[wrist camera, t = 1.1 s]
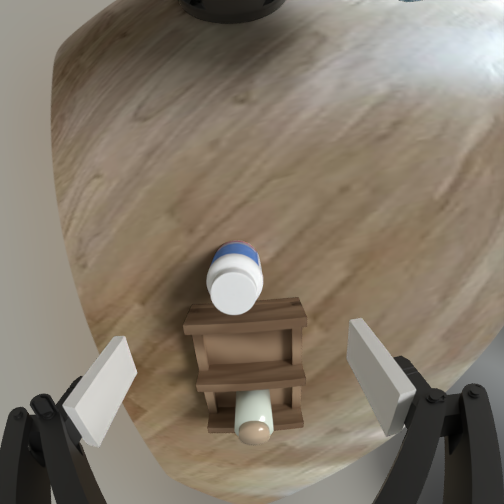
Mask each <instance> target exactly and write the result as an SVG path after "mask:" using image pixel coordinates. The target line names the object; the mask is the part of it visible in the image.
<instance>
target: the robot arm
mask: <svg viewBox="0 0 504 504" xmlns="http://www.w3.org/2000/svg"><path fill="white" fill-rule="evenodd" d="M178 1H179V3H180V5H181V7H182V8H183V9H184V10H185V11H186V12H187V13H189V14H190V15H192V16H194V17H196V18H199V19H201V20H205V21H209V22H215V23H241V22H247V21H252V20H255V19H259V18H262V17H264V16H266V15H269V14H270V13H272V12H274V11H275V10H277V9H278V8H279V7H280V6H281V5H282V4H283V3H284V2H285V0H178ZM399 1H404V2H414V1H421V0H399ZM347 361H348V363H349V364H350V366H351V368H352V370H353V372H354V374H355V376H356V378H357V380H358V382H359V384H360V386H361V388H362V390H363V391H364V393H365V395H366V397H367V399H368V401H369V403H370V405H371V407H372V409H373V411H374V413H375V415H376V417H377V419H378V421H379V423H380V425H381V427H382V429H383V431H384V433H385V435H386V437H387V436H390V435H393V434H396V433H399V432H401V430H402V428H403V426H404V424H405V426H406V428H407V429H408V430H407V433H406V435H405V437H404V440H403V442H402V445H401V447H400V450H399V452H398V454H397V457H396V459H395V461H394V463H393V465H392V467H391V469H390V471H389V473H388V475H387V477H386V479H385V481H384V483H383V485H382V487H381V489H380V491H379V493H378V494H377V496H376V498H375V500H374V501H373V503H372V504H416V503H417V501H418V498H419V496H420V494H421V491H422V489H423V486H424V484H425V481H426V478H427V475H428V472H429V470H430V467H431V464H432V461H433V458H434V454H435V451H436V448H437V445H438V441H439V437H444V438H445V480H444V495H443V504H504V489H503V475H502V467H501V458H500V451H499V445H498V439H497V433H496V428H495V424H494V419H493V415H492V410H491V406H490V403H489V399H488V395H487V392H486V390H485V388H484V387H482V386H481V385H479V384H473V383H472V384H468V385H466V386H465V387H464V388H463V390H462V393H460V394H452V395H446V393H445V392H444V391H442V390H440V389H437V388H431V387H430V385H429V384H428V383H427V382H426V380H425V379H424V378H423V377H422V375H421V374H420V373H419V372H418V371H417V369H416V368H415V367H414V366H413V364H412V363H411V362H410V361H409V360H408V359H406V358H404V357H403V356H398V357H394V358H393V357H392V356H391V355H390V353H389V352H388V351H387V349H386V348H385V347H384V346H383V344H382V343H381V342H380V340H379V339H378V338H377V337H376V335H375V334H374V333H373V331H372V330H371V329H370V328H369V326H368V325H367V324H366V323H365V321H364V320H363V319H362V318H358V319H352V320H349V335H348V348H347ZM136 374H137V370H136V368H135V365H134V362H133V359H132V356H131V353H130V350H129V347H128V344H127V341H126V338H125V336H114V337H113V339H112V340H111V341H110V342H109V344H108V345H107V346H106V347H105V349H104V350H103V351H102V353H101V354H100V355H99V356H98V358H97V359H96V360H95V362H94V363H93V364H92V366H91V367H90V368H89V370H88V371H87V372H86V374H85V375H84V376H80V377H78V378H77V379H76V380H75V381H73V383H72V384H71V385H70V388H68V389H67V391H66V392H65V393H64V395H63V396H62V397H61V399H60V400H59V401H58V403H57V404H56V405H55V403H54V401H53V400H52V398H51V396H50V395H48V394H39V395H37V396H35V397H34V398H33V399H32V400H31V402H30V406H31V408H32V409H33V411H34V413H35V414H36V415H29V413H28V412H27V410H26V409H25V408H24V407H18V408H15V409H13V410H12V411H11V412H10V414H9V416H8V419H7V423H6V427H5V431H4V435H3V439H2V443H1V448H0V504H51V487H52V490H53V494H54V497H55V500H56V503H57V504H107V503H106V501H105V499H104V497H103V495H102V493H101V491H100V488H99V486H98V484H97V482H96V480H95V477H94V475H93V473H92V470H91V468H90V465H89V463H88V460H87V458H86V455H85V452H84V450H83V447H82V445H81V443H80V442H79V441H80V440H81V438H83V439H84V441H85V442H86V444H88V445H92V446H96V447H100V445H101V443H102V441H103V439H104V437H105V435H106V433H107V431H108V429H109V427H110V424H111V423H112V420H113V418H114V416H115V414H116V413H117V411H118V409H119V407H120V404H121V403H122V401H123V399H124V397H125V395H126V393H127V391H128V389H129V387H130V385H131V383H132V382H133V380H134V378H135V376H136Z"/></svg>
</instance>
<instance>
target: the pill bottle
mask: <svg viewBox="0 0 504 504" xmlns="http://www.w3.org/2000/svg"><path fill="white" fill-rule="evenodd" d="M262 287H263V275H262V270H261V264H260V259H259V255H258V253H257V251H256V250H255V249H254V248H253V247H252V246H251V245H250V244H248V243H246V242H244V241H238V240H235V241H229V242H227V243H225V244H223V245H222V246H221V247H220V248H219V249H218V250H217V252H216V254H215V256H214V258H213V261H212V263H211V266H210V268H209V271H208V274H207V288H208V291H209V293H210V296H211V300H212V302H213V304H214V305H215V307H216V308H217V309H218V310H220V311H221V312H223V313H225V314H229V315H239V314H243V313H245V312H247V311H248V310H249V309H251V308H252V306H253V305H254V303H255V301H256V299H257V298H258V297H259V295H260V293H261V291H262Z"/></svg>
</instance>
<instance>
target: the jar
mask: <svg viewBox="0 0 504 504" xmlns="http://www.w3.org/2000/svg"><path fill="white" fill-rule="evenodd" d="M272 432H273V419H272V409H271V400H270V390H269V389H265V390H251V391H236V407H235V433H236V434H237V435H238V436H239V440H240V441H241V442H243V443H244V444H247V445H260V444H263V443H265V442H267V441H268V440H269V438H270V435H271V434H272Z"/></svg>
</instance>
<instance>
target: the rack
mask: <svg viewBox="0 0 504 504" xmlns="http://www.w3.org/2000/svg"><path fill="white" fill-rule="evenodd" d="M302 327H307V316H306V314H305V311H304V309H303V307H302V305H301V302H300V300H299V298H298V297H295V298H284V299H272V300H260V301H255V303H254V305H253V306H252V308H251V309H249V310H248V311H247V312H245V313H243V314H239V315H229V314H225V313H223V312H221V311H220V310H218V309H217V308H216V307H215V305H214V304H197V305H192V306H191V308H190V310H189V313H188V315H187V317H186V319H185V322H184V324H183V329H184V334H185V335H192V338H193V343H194V348H195V353H196V358H197V363H198V367H199V374H198V378H197V382H196V387H197V391H198V392H204V394H205V398H206V402H207V406H208V410H209V420H208V427H207V429H208V432H209V433H235V407H236V391H251V390H265V389H269V390H270V400H271V409H272V419H273V431H276V430H286V429H294V428H302V427H303V426H304V421H303V417H302V412H301V386H304V385H306V377H305V373H304V370H303V366H302Z"/></svg>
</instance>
